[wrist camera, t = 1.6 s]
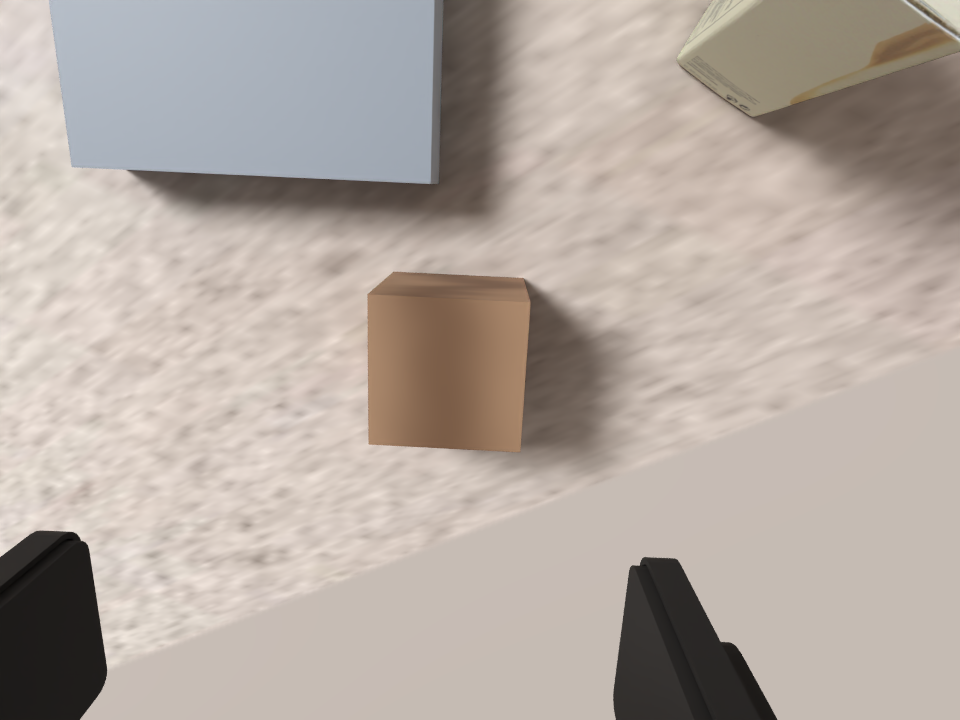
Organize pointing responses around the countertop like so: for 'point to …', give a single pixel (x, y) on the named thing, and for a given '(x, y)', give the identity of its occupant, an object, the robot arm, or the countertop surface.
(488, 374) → the walnut cube
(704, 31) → the skincare box
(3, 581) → the robot arm
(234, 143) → the slate base block
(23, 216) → the countertop surface
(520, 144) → the countertop surface
